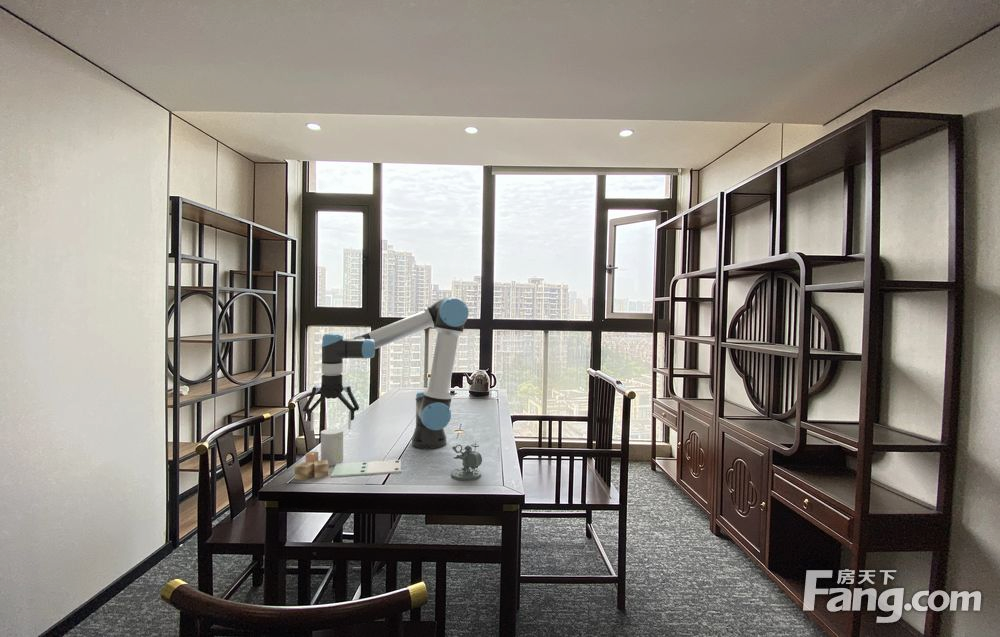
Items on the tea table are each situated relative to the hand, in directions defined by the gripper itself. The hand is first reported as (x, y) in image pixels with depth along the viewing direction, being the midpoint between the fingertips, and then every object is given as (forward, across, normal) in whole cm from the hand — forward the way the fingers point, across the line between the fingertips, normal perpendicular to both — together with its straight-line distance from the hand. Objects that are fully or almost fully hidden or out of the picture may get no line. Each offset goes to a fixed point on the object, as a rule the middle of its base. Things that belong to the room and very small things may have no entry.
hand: (331, 429), depth 173 cm
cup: (+13, 0, 0) cm, 13 cm away
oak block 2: (+13, +1, +13) cm, 18 cm away
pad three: (+13, -8, +10) cm, 18 cm away
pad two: (+13, -20, +10) cm, 26 cm away
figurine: (+12, -50, +23) cm, 56 cm away
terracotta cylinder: (+13, +6, +7) cm, 16 cm away
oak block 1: (+13, +7, +14) cm, 20 cm away
